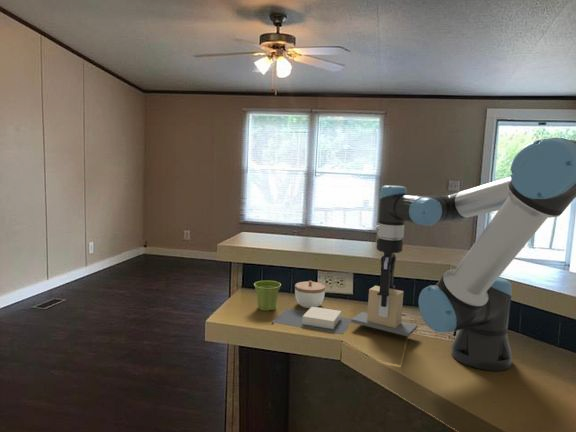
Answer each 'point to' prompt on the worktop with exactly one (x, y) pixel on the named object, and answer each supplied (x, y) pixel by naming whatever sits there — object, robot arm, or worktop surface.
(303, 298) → the lidded jar
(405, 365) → the worktop surface
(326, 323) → the tile
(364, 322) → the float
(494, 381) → the worktop surface
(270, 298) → the plant pot
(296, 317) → the mat
